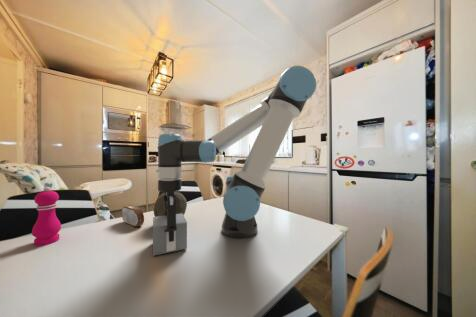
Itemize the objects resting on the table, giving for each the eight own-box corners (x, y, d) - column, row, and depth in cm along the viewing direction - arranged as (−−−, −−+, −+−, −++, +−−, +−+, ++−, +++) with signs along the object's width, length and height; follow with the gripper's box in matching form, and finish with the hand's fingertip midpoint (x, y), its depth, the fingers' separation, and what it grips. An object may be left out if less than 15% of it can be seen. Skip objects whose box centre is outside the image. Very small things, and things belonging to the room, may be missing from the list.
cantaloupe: (186, 228, 76) (186, 194, 76) (150, 232, 72) (151, 196, 72) (186, 217, 90) (186, 188, 90) (156, 220, 86) (156, 189, 86)
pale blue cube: (182, 235, 68) (182, 213, 68) (186, 248, 59) (186, 222, 59) (153, 241, 64) (153, 217, 63) (152, 255, 54) (152, 227, 54)
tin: (144, 227, 78) (144, 208, 78) (137, 229, 75) (137, 209, 75) (127, 220, 86) (127, 203, 86) (120, 222, 83) (120, 204, 83)
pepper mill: (46, 237, 67) (46, 185, 67) (66, 236, 68) (66, 185, 68) (25, 247, 60) (24, 188, 60) (48, 246, 61) (47, 188, 60)
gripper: (157, 176, 70) (157, 231, 70) (158, 184, 49) (158, 263, 49) (177, 175, 73) (177, 228, 73) (186, 183, 52) (186, 257, 53)
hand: (169, 242), depth 61 cm, fingers closed on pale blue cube, 10 cm apart
